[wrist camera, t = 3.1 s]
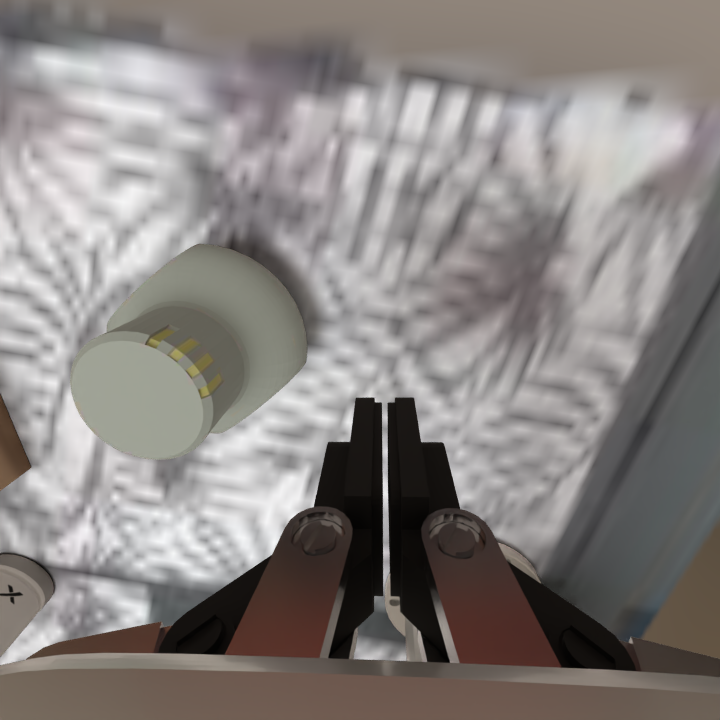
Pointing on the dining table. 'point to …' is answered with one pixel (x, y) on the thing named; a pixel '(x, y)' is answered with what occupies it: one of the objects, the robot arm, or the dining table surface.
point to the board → (10, 450)
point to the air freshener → (189, 354)
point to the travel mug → (20, 595)
